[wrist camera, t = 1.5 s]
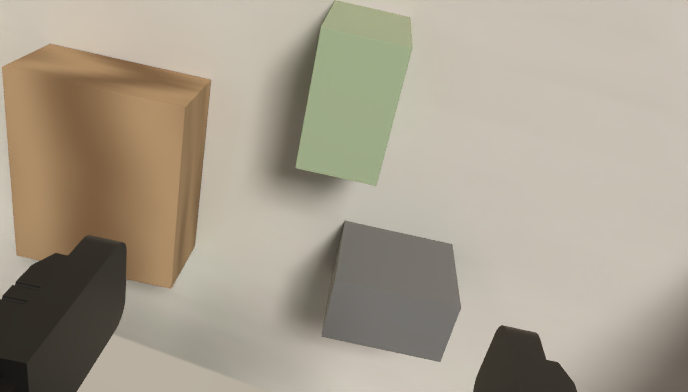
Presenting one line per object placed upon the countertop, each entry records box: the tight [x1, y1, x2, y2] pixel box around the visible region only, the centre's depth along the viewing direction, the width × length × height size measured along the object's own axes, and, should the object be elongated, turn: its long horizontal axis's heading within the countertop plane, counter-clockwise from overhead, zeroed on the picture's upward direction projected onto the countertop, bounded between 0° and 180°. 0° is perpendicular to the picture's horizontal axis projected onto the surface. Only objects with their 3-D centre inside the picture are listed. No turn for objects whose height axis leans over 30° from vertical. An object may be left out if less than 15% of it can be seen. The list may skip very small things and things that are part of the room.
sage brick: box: [295, 0, 412, 186], centre depth 26 cm, size 6×4×6 cm, turn 168°
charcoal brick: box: [322, 221, 461, 362], centre depth 31 cm, size 6×4×6 cm, turn 78°
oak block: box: [2, 44, 211, 289], centre depth 30 cm, size 8×10×4 cm
